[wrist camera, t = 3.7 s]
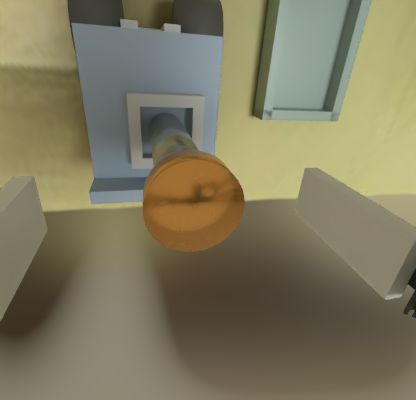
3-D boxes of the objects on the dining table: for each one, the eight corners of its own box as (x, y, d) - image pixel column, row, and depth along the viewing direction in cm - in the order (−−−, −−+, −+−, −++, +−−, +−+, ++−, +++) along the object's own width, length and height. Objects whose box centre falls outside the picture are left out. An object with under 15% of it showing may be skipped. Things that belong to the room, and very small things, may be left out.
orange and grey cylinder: (139, 103, 24) (140, 163, 10) (190, 105, 25) (250, 160, 11) (142, 153, 26) (145, 256, 12) (188, 153, 27) (238, 247, 13)
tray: (274, -39, 29) (287, -48, 26) (360, -24, 31) (380, -32, 28) (253, 115, 36) (262, 119, 33) (324, 117, 38) (337, 121, 36)
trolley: (74, -11, 26) (31, -56, 16) (212, 6, 29) (252, -23, 19) (97, 160, 34) (79, 204, 24) (204, 158, 37) (228, 197, 27)
